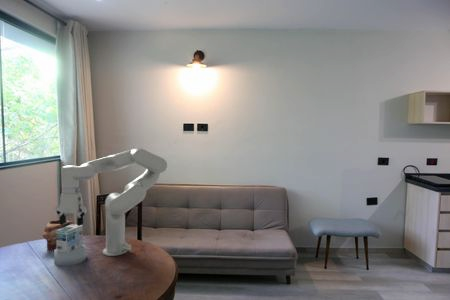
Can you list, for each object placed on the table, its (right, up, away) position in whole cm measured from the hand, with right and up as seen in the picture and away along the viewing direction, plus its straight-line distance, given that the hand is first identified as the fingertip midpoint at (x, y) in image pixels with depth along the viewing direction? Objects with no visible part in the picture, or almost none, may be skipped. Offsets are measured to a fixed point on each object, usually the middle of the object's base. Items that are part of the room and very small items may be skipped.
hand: (71, 224), depth 144 cm
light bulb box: (-1, -12, 0) cm, 12 cm away
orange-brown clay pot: (-16, -17, +18) cm, 29 cm away
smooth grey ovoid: (-1, -18, 0) cm, 18 cm away
